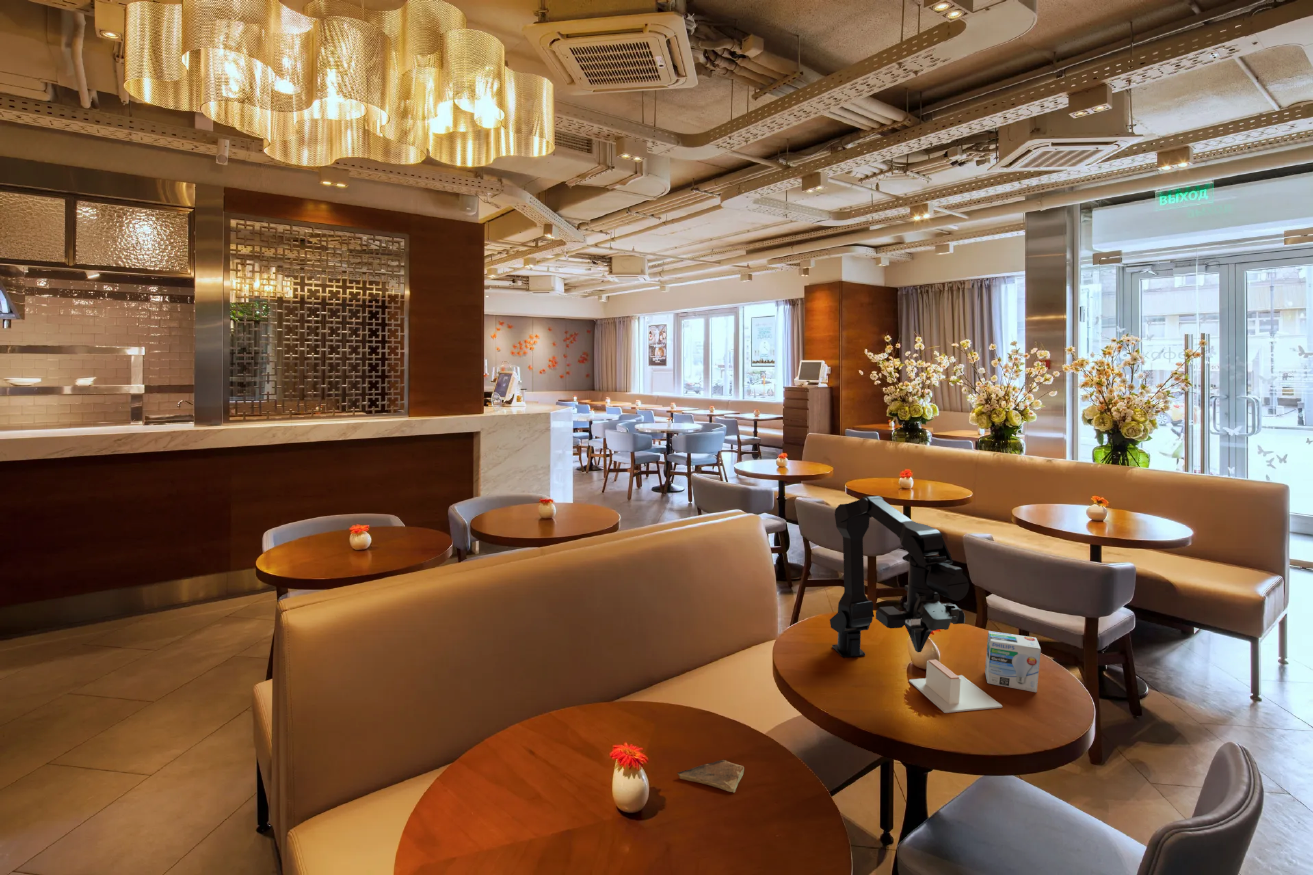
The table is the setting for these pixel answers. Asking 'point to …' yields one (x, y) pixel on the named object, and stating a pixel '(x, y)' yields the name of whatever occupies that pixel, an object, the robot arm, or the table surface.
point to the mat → (968, 697)
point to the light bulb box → (1012, 661)
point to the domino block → (943, 681)
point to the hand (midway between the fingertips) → (918, 651)
